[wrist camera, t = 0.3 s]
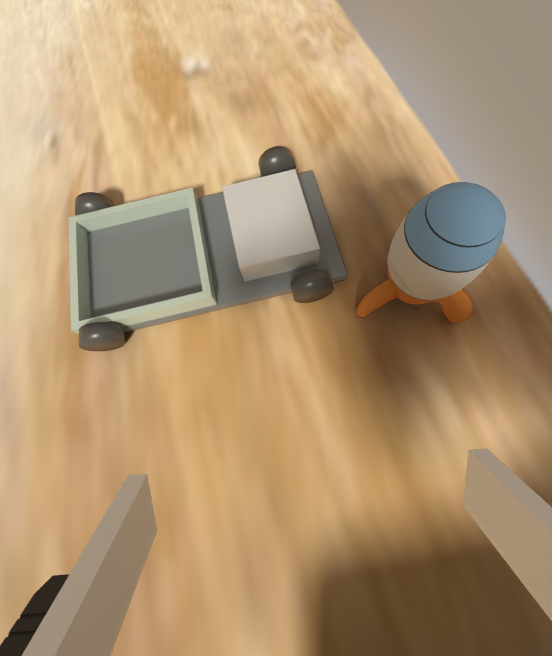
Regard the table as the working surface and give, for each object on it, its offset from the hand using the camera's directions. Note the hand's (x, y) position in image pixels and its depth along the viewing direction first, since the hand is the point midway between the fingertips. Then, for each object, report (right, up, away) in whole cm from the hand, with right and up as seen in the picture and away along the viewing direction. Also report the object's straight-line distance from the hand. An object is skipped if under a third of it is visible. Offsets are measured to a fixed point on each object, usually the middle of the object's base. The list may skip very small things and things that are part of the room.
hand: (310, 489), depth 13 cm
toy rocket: (+12, +11, +21) cm, 27 cm away
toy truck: (-9, +15, +23) cm, 29 cm away
